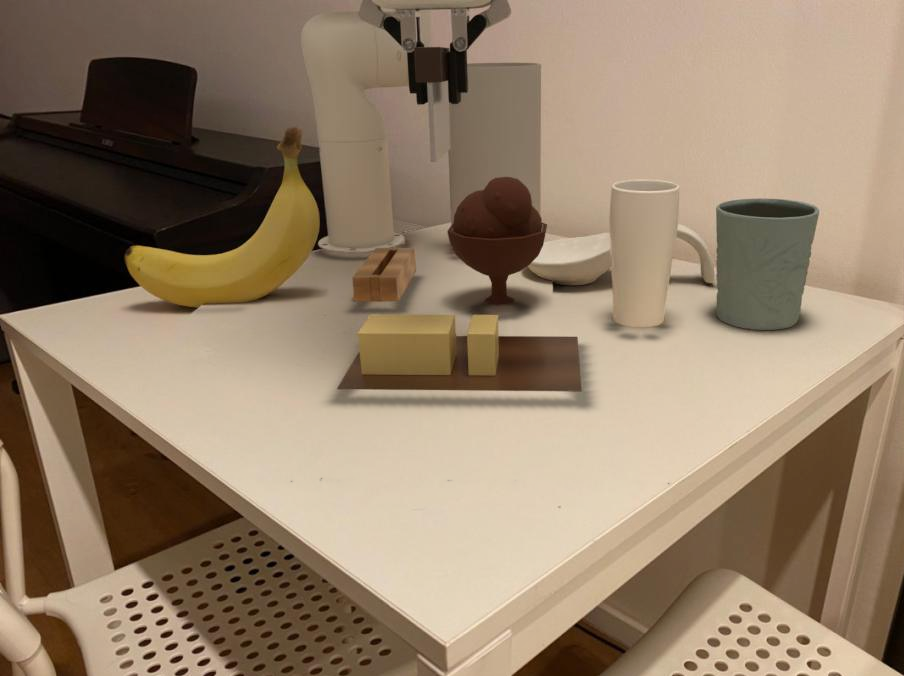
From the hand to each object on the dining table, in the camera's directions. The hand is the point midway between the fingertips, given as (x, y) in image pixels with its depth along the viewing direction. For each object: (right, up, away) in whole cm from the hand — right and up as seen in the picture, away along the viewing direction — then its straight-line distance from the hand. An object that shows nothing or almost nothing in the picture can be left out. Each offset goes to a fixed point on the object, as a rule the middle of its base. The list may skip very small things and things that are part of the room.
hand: (439, 101), depth 67 cm
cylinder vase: (+5, -6, +47) cm, 48 cm away
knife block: (-9, -13, +30) cm, 34 cm away
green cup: (+33, -17, +20) cm, 42 cm away
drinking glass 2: (+20, -18, +17) cm, 32 cm away
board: (+2, -23, +8) cm, 24 cm away
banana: (-27, -15, +27) cm, 41 cm away
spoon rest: (+20, -11, +34) cm, 41 cm away
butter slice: (+4, -22, +6) cm, 23 cm away
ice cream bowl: (+5, -16, +24) cm, 29 cm away
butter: (-3, -22, +6) cm, 23 cm away
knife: (0, -4, +1) cm, 4 cm away
